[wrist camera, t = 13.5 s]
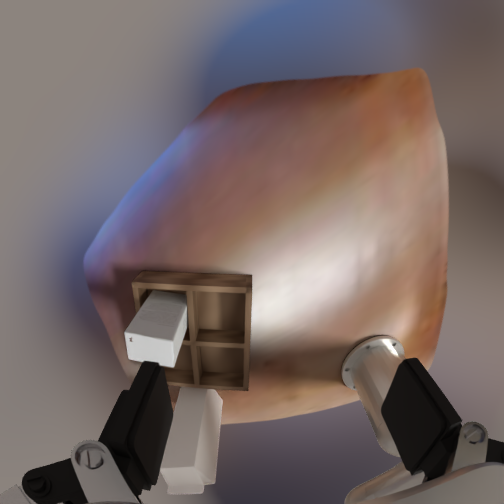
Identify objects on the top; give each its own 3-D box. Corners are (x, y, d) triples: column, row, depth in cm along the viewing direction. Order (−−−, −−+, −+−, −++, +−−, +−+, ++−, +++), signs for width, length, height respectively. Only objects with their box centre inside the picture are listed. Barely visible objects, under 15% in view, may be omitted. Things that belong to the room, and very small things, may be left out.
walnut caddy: (252, 275, 41) (252, 287, 36) (248, 373, 46) (248, 390, 42) (142, 270, 40) (131, 282, 36) (156, 366, 46) (149, 382, 41)
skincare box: (153, 313, 41) (126, 359, 30) (153, 288, 40) (122, 330, 29) (191, 319, 42) (174, 369, 30) (192, 294, 40) (173, 340, 29)
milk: (180, 386, 47) (153, 484, 26) (209, 379, 46) (190, 484, 25) (196, 406, 49) (177, 501, 28) (223, 400, 48) (213, 500, 27)
